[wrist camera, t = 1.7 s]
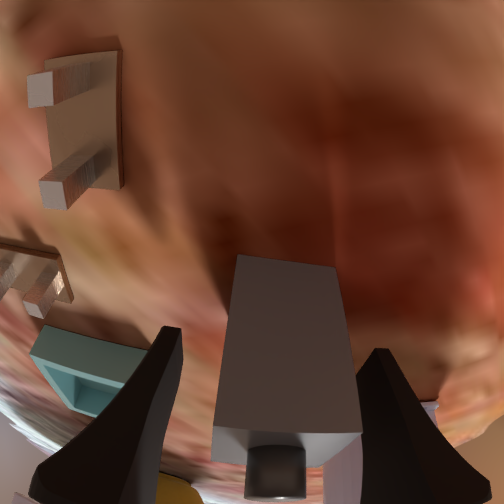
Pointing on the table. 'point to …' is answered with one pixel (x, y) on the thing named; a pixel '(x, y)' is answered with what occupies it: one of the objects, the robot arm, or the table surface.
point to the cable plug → (284, 377)
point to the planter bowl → (175, 491)
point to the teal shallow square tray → (84, 368)
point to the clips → (69, 161)
